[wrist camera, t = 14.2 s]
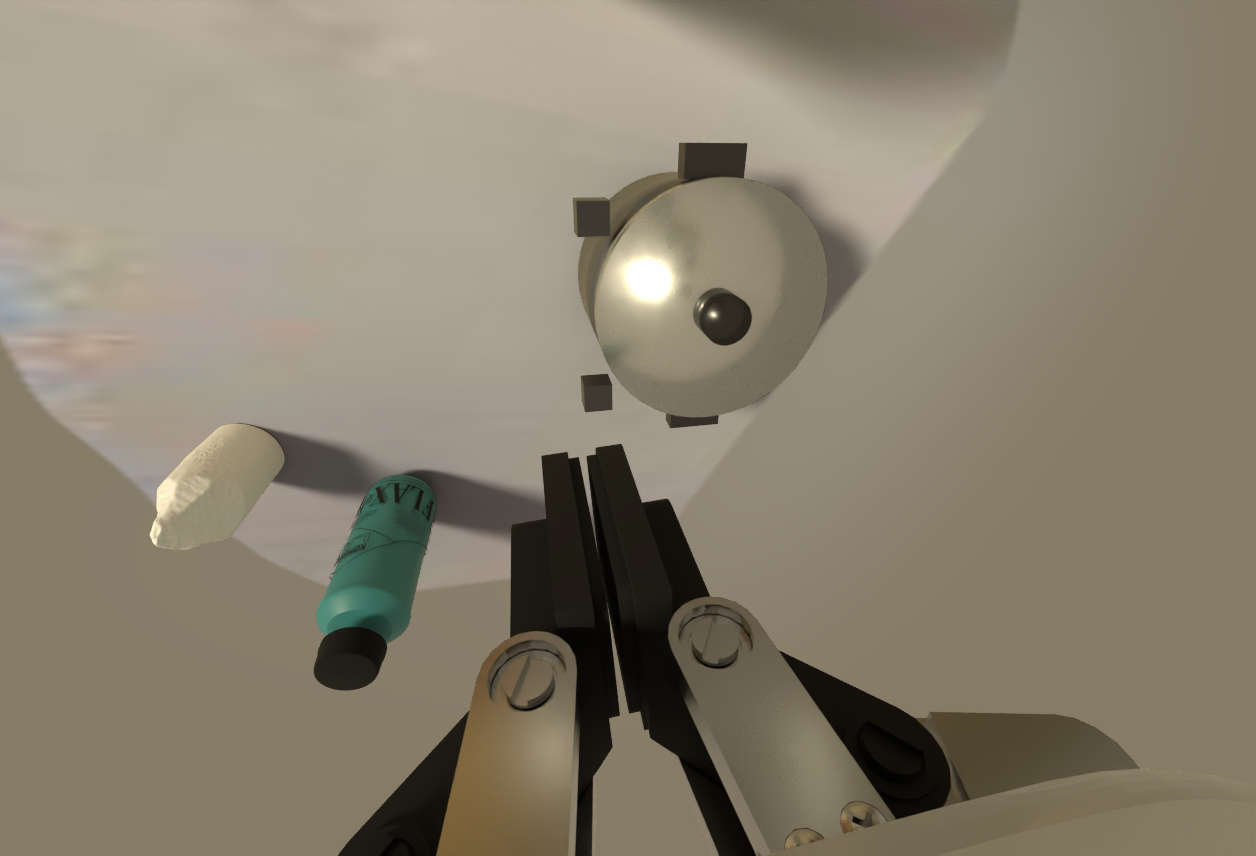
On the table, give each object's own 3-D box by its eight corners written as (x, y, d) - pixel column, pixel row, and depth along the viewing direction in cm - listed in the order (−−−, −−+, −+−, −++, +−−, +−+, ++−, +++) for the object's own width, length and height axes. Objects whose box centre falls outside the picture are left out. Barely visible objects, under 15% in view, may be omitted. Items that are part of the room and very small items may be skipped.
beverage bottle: (452, 481, 50) (419, 657, 33) (419, 527, 52) (371, 715, 35) (389, 452, 47) (316, 627, 30) (356, 501, 49) (270, 692, 32)
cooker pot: (558, 142, 38) (573, 142, 28) (770, 143, 40) (850, 143, 31) (572, 386, 47) (586, 447, 38) (742, 373, 50) (795, 427, 41)
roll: (237, 554, 36) (169, 587, 36) (299, 462, 46) (246, 488, 46) (164, 496, 33) (90, 532, 33) (248, 411, 43) (191, 439, 43)
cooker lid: (590, 177, 30) (599, 181, 27) (840, 175, 33) (874, 178, 30) (597, 419, 38) (604, 443, 35) (797, 401, 41) (820, 422, 38)
